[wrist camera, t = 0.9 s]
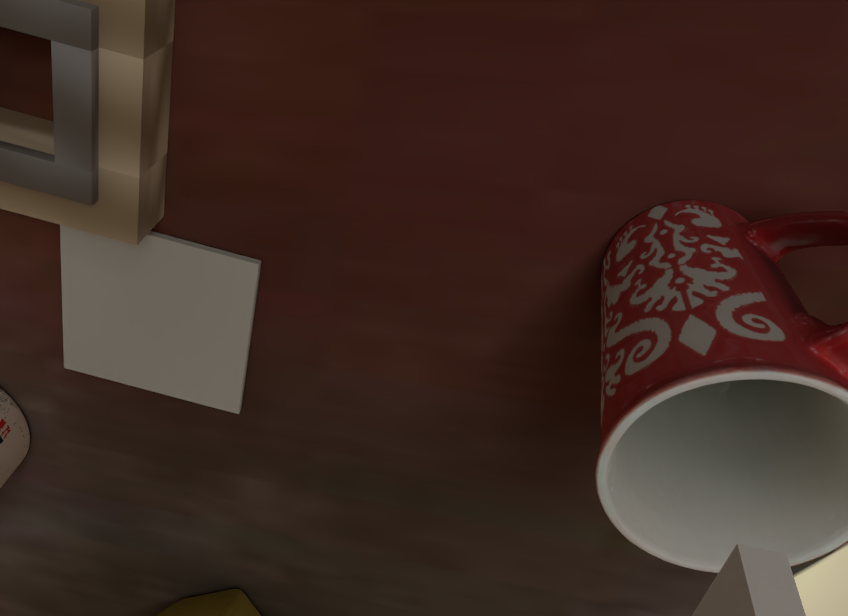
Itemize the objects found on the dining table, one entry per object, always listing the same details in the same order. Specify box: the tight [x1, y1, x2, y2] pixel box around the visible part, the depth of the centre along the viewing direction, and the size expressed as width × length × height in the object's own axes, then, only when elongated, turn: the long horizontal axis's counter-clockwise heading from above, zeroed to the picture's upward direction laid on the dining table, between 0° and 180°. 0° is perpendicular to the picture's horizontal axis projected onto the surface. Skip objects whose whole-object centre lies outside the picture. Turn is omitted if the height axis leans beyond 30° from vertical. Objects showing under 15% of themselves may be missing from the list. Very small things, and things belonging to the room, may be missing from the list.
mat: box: [60, 225, 261, 414], centre depth 41 cm, size 10×10×1 cm
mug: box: [595, 200, 848, 573], centre depth 30 cm, size 13×9×14 cm
